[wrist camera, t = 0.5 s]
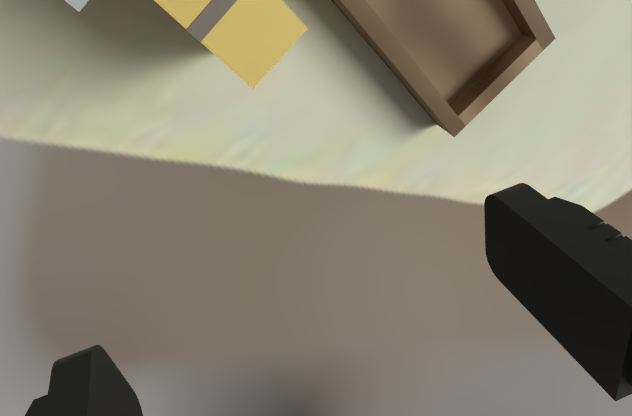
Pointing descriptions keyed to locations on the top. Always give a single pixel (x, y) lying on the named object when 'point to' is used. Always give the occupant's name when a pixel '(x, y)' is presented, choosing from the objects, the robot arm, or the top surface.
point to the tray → (452, 48)
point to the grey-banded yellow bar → (240, 31)
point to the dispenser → (77, 4)
